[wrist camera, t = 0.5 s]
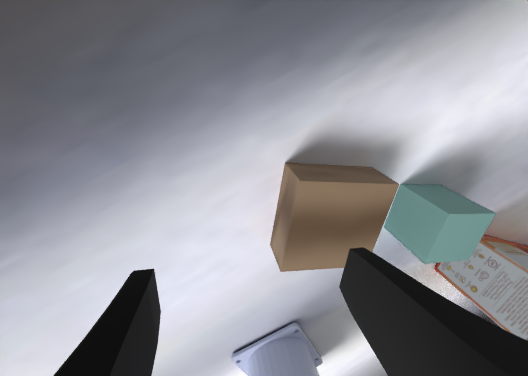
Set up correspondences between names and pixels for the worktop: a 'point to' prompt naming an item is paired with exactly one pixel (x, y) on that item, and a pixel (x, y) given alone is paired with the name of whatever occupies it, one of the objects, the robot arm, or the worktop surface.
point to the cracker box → (494, 282)
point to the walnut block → (328, 214)
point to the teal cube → (437, 222)
